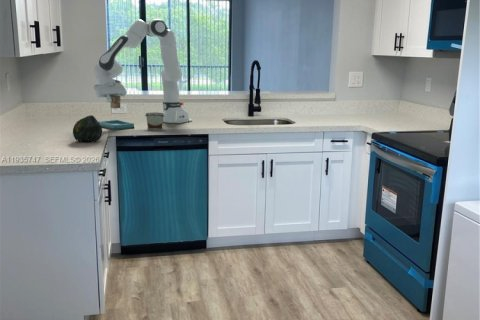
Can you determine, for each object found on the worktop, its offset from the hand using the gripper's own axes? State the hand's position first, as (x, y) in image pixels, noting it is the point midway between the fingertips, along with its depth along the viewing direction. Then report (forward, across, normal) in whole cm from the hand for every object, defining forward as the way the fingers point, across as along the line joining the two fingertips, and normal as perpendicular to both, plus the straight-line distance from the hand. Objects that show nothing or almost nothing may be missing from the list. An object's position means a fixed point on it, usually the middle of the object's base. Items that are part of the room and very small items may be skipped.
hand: (115, 100), depth 296 cm
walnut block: (+3, 0, +4) cm, 5 cm away
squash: (+35, -37, -11) cm, 52 cm away
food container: (+25, +18, -1) cm, 31 cm away
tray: (+12, 0, +12) cm, 17 cm away
